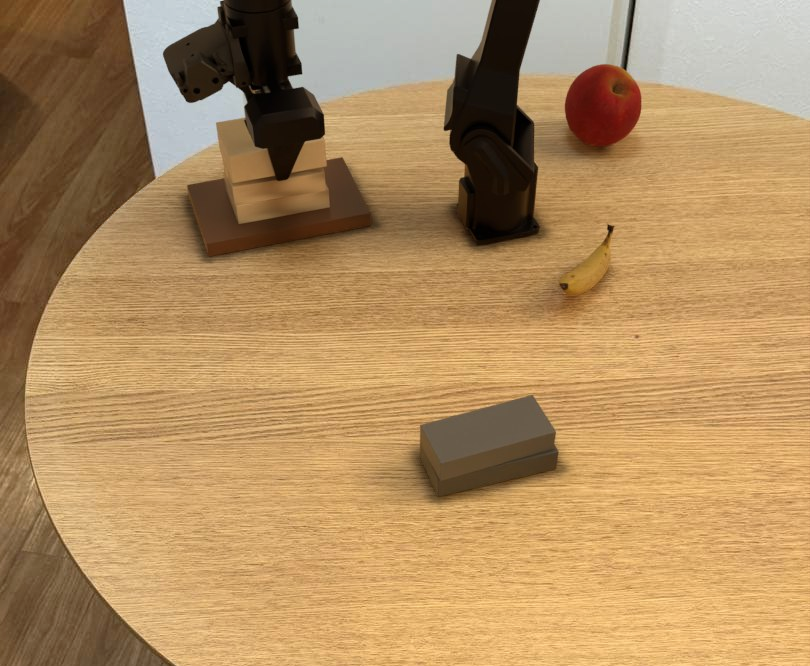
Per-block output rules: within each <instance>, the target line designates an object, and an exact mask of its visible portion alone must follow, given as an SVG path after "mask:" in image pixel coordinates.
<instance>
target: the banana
mask: <svg viewBox="0 0 810 666" xmlns="http://www.w3.org/2000/svg"><path fill="white" fill-rule="evenodd" d="M614 229H615V225H612V224H609V223H607V224H606V230H607V235H605V238H604V239H603V241H602V243H601V244H599V246H597V247H596V248H595V250H594V251H592V252H591V254H590V255H589V256H588V257H587V258H585V259H584V260H583V261H582V262H580V263H579V264H578V265H577V266H576V267H574V269H572V270H571V271H568V272H567V273H566V274H564V275H563V276H561V277H560V278H559V279H558V282H557V285H558V286H559V288H560V289H561V291H562V292H563V293H565V295H567V296H578V295H580V294H583V293H586V292H587V291H590V290H591V289H592V288H593V287H595V285H597V284H598V283H599V281H601V279H602V278H603V277H604V276H605V274H606V272H607V271H608V269H609V266H610V264H611V263H610V262H611V256H612V254H611V253H612V252H611V241H612V237H613V232H614Z"/></svg>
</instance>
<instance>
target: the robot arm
mask: <svg viewBox="0 0 810 666" xmlns="http://www.w3.org/2000/svg"><path fill="white" fill-rule="evenodd" d="M540 2H541V0H491V1H490V5H489V10H488V12H487V17H486V21H485V25H484V29H483V34H482V37H481V40H480V43H479V45H478V47H477V48H476V50H475V51H474V53H473V55H472V56H471V58H470V57H467V56H465V55H462V54H460V53H457V54H456V56H455V57H456V58H455V66H454V67H455V68H454V78H453V80H452V82H451V84H450V85H449V87H448V88H447V90H446V98H445V99H446V100H445V109H444V110H445V111H444V121H443V131H444V132H449V142H448V144H449V145H448V146H449V150H450V151H451V152H452V153H453V155H454V156H455V157H456V159H458V160H459V161H460V162H462V163H463V164H464V169H463V171H464V172H463V173H464V174H463V177H462V176H461V177H460V178H459V180H458V196H457V197H458V198H457V202H456V211H457V215H458V217H459V219H460V221H461V223H462V224H463V226H464V227H465V229H466V230H468V231H469V233H470V235H471V237H472V238H473V240H474V242H475V243H476V244H478V245H485V244H490V243H496V242H500V241H505V240H511V239H515V238H520V237H525V236H530V235H536V234H538V233H540V229H541V226H540V225H539V223H538V221H537V220H536V218H535V217H534V215H535V207H536V206H535V205H536V194H537V186H538V176H539V175H538V174H539V166H538V165H537V164H536V162H535V121H534V120H533V119H532V118H531V117H530V116H529V115H528V114H527V113H526V112H525V110H523V109H522V108H521V107H520V106H519V104H518V96H519V95H518V94H519V87H520V85H519V84H520V72H521V68H522V64H523V60H524V57H525V54H526V50H527V48H528V47H527V46H528V43H529V39H530V37H531V32H532V29H533V26H534V22H535V19H536V17H537V12H538V8H539V6H540V5H539V4H540ZM219 5H220V6H216V8H217V9H216V10H217V16H218V18H217V19H216V21H215V22H214V23H212V24H210V25H208V26H203V27H200V28H199V29H197V30H195V31H193V32H191V33H189V34H188V35H186V36H184V37H182V38H180V39H178V40H177V41H175V42H173V43H171V44H169V45H168V46H167V47H166V48H165V49H164V50H163V52H162V58H163V60H164V63H165V66H166V68H167V71H168V73H169V75H170V76H171V78H172V80H173V82H174V84H175V85H176V87H177V88H178V91H179V93H180V95H181V96H182V97H183V99H184V100H185V102H186V103H189V104H194V103H197V102H199V101H203V100H205V99H207V98H209V97H211V96H213V95H214V94H217V93H219V92H220V91H222V90H223V88H224V86H225V85H226V84H228V83H230V84H232V85H233V86H234V87H235V88H236V89H238V90H240V91H241V92H243V95H244V98H245V101H246V103H245V105H244V106H243V108H244V109H243V110H244V118H246V120H244V122H245V125H246V127H247V129H248V132H249V134H250V136H251V138H252V141H253V143H254V145H255V147H258V148H261V149H265V148H266V149H267V152H268V155H269V158H270V161H271V165H272V168H273V171H274V174H275V177H276V180H277V181H283V180H287V179H288V178H289V176H290V174H291V172H292V169H293V167H294V165H295V162H296V160H297V158H298V156H299V153H300V151H301V149H302V147H303V145H304V143H305V141H311V140H317V139H321V138H322V137H324V136H325V135H326V125H325V124H326V123H325V114H324V111H323V109H322V108H321V106H320V104H319V102H318V100H317V97H316V96H315V94H314V93H312V92H311V91H310V90H308V88H306V87H304V86H299V87H293V84H291V83H292V82H291V81H290V79H289V77H295V76H300V75H303V65H302V61H301V58H300V56H298V53H297V50H296V40H295V37H296V36H295V30H299V29H300V26H299V25H300V24H299V16H298V14H297V12H296V11H295V9H294V7H293V2H292V0H220V1H219Z"/></svg>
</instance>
